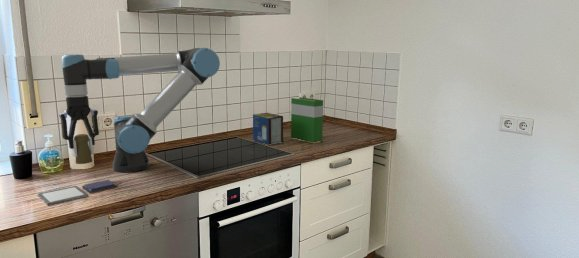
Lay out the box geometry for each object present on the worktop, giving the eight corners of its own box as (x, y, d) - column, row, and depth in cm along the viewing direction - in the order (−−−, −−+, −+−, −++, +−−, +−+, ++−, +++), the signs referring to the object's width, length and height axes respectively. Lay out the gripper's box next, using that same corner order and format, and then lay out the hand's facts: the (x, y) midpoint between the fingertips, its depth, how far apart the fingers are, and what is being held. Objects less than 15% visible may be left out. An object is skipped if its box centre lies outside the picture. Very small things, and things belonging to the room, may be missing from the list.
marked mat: (76, 187, 158) (76, 185, 158) (88, 196, 149) (88, 194, 149) (37, 195, 150) (37, 193, 149) (47, 205, 140) (47, 203, 140)
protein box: (267, 138, 246) (267, 112, 243) (283, 143, 234) (283, 116, 231) (252, 140, 239) (252, 114, 236) (268, 145, 227) (268, 117, 224)
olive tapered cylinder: (95, 159, 167) (92, 132, 164) (88, 163, 161) (85, 136, 158) (79, 159, 166) (76, 132, 164) (72, 164, 161) (69, 136, 158)
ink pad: (109, 182, 165) (109, 178, 164) (117, 187, 159) (117, 183, 159) (82, 187, 158) (82, 184, 158) (89, 193, 152) (89, 189, 152)
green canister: (291, 139, 244) (291, 98, 240) (299, 137, 250) (300, 97, 245) (313, 144, 232) (314, 101, 228) (322, 142, 237) (323, 100, 233)
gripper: (98, 92, 167) (103, 149, 172) (47, 97, 155) (54, 157, 160) (105, 94, 162) (110, 152, 167) (53, 98, 149) (60, 161, 154)
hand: (83, 154), depth 163 cm, fingers closed on olive tapered cylinder, 5 cm apart
